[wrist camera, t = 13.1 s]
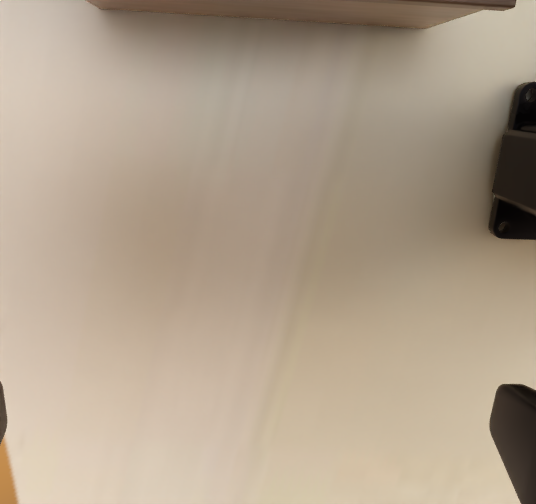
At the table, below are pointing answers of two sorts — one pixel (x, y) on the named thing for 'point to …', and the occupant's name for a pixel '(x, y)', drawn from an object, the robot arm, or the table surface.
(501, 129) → the table surface
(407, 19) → the spice rack
